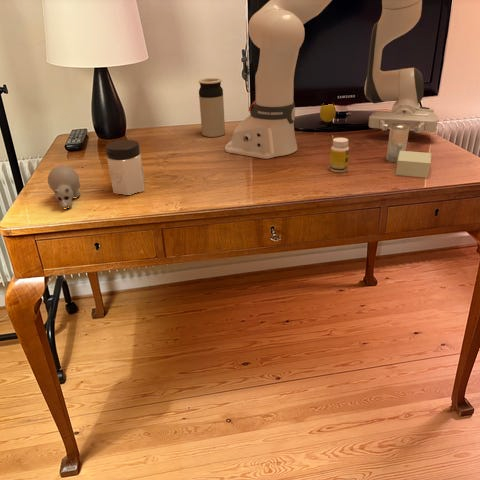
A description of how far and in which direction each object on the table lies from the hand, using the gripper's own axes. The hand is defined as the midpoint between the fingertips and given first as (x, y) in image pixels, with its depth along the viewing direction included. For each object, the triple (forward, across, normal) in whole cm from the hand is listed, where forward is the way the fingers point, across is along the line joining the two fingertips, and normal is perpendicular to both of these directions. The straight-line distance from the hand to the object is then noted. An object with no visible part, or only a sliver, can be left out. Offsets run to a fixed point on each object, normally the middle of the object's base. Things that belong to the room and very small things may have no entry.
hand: (400, 128), depth 138 cm
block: (+20, +5, +6) cm, 21 cm away
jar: (+52, -63, +6) cm, 82 cm away
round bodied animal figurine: (+63, -74, +6) cm, 97 cm away
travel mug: (+2, -61, +6) cm, 61 cm away
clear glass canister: (+12, 0, +6) cm, 13 cm away
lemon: (-20, -26, +6) cm, 33 cm away
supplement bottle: (+24, -14, +6) cm, 28 cm away
